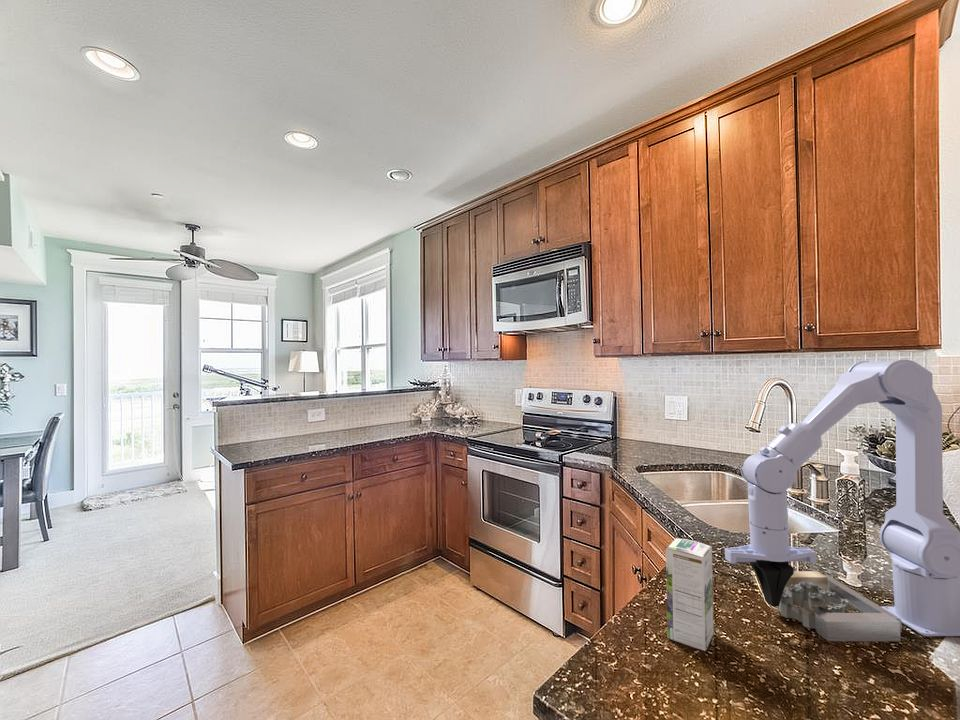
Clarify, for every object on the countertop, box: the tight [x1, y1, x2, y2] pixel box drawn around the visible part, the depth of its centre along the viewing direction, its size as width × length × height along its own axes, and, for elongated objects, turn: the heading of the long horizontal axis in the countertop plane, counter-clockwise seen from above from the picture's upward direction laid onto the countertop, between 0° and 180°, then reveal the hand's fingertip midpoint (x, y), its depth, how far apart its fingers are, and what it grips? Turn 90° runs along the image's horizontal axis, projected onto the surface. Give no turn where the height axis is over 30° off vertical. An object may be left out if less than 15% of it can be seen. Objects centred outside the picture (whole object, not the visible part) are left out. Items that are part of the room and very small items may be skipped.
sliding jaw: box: [785, 570, 828, 590], centre depth 82 cm, size 11×2×3 cm, turn 88°
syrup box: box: [665, 537, 715, 652], centre depth 69 cm, size 6×6×14 cm
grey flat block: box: [815, 574, 903, 642], centre depth 76 cm, size 14×18×3 cm
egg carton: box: [777, 579, 849, 630], centre depth 74 cm, size 11×8×4 cm
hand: (772, 603), depth 75 cm, fingers closed
